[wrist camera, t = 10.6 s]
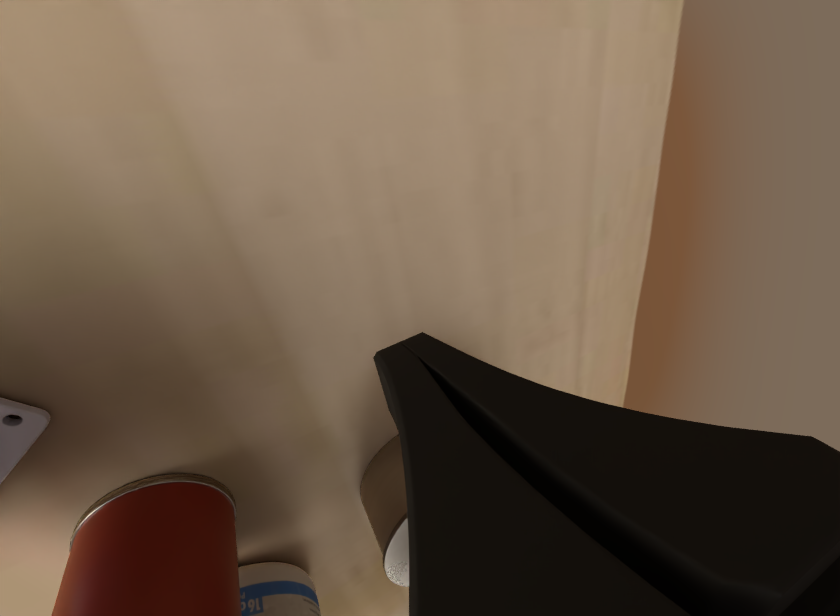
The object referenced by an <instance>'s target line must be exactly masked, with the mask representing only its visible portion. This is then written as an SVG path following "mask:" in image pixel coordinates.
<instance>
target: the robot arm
mask: <svg viewBox="0 0 840 616" xmlns="http://www.w3.org/2000/svg"><path fill="white" fill-rule="evenodd" d="M374 361H375V364H376V368H377V371H378V375H379V378H380V381H381V385H382V388H383V391H384V395H385V398H386V402H387V405H388V408H389V411H390V413H391V415H392V417H393V419H394V422H395V424H396V426H397V429H398V431H399V437H400V443H401V450H402V457H403V466H404V475H405V487H406V499H407V517H408V538H409V616H840V452H839V451H837V450H835V449H834V448H832V447H830V446H828V445H827V444H825V443H823V442H821V441H819V440H817V439H816V438H814V437H811V436H801V435H793V434H783V433H774V432H767V431H758V430H748V429H740V428H731V427H724V426H717V425H711V424H705V423H698V422H692V421H686V420H680V419H674V418H669V417H663V416H659V415H653V414H648V413H643V412H639V411H634V410H630V409H626V408H622V407H617V406H613V405H608V404H605V403H601V402H597V401H593V400H589V399H586V398H582V397H579V396H576V395H572V394H569V393H566V392H562V391H559V390H556V389H553V388H550V387H547V386H544V385H541V384H538V383H535V382H532V381H530V380H527V379H524V378H522V377H519V376H517V375H514V374H511V373H509V372H506V371H504V370H501V369H499V368H497V367H495V366H492V365H490V364H488V363H486V362H483V361H481V360H479V359H477V358H474V357H472V356H470V355H468V354H466V353H464V352H462V351H460V350H458V349H456V348H454V347H452V346H450V345H447V344H445V343H443V342H441V341H439V340H437V339H435V338H433V337H431V336H429V335H427V334H425V333H423V332H422V333H419V334H417V335H415V336H413V337H410V338H408V339H406V340H403V341H401V342H399V343H396V344H394V345H392V346H389V347H387V348H385V349H382V350H380V351H378V352H376V354H375V356H374ZM11 414H13V415H18V416H20V417H21V418H20V419H12V418H10V417H8V416H7V415H11ZM50 419H51V418H50V414H49V413H48V412H47V411H45V410H43V409H40V408H37V407H33V406H29V405H26V404H22V403H19V402H15V401H11V400H8V399H4V398H0V484H1V483H2V481H3V480H4V479H5V478H6V476H7V475H8V474H9V473H10V472H11V470H12V469H13V468H14V467H15V465H16V464H17V463H18V462H19V461H20V459H21V458H22V457H23V456H24V454H25V453H26V452H27V451H28V450H29V448H30V447H31V446H32V445H33V443H34V442H35V441H36V440H37V439H38V437H39V436H40V435H41V434H42V432H43V431H44V430H45V429H46V427H47V425H48V423H49V421H50Z"/></svg>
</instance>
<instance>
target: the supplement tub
mask: <svg viewBox="0 0 840 616" xmlns="http://www.w3.org/2000/svg"><path fill="white" fill-rule="evenodd" d="M238 572H239V586H240V600H241V614H242V616H321V613H320V608H319V603H318V599H317V595H316V590H315V586H314V584H313V581H312V579H311V578H310V576H309V575H308V574H307V573H306V572H305V571H304V570H302V569H301V568H299V567H297V566H294V565H292V564H287V563H280V562H265V563H257V564H251V565H246V566H242V567H239V568H238Z"/></svg>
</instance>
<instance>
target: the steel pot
mask: <svg viewBox="0 0 840 616" xmlns="http://www.w3.org/2000/svg"><path fill="white" fill-rule="evenodd" d="M360 494H361V500H362V503H363V506H364V509H365V511H366V514H367V516H368V519H369V521H370V524H371V527H372V529H373V532H374V534H375V537H376V539H377V542H378V545H379V547H380V550H381V552H382V555H383V567H384V570H385V573H386V575H387V577H388V578H389V579H390V580H391V581H392V582H393V583H395V584H397V585H400V586H404V587H409V538H408V517H407V499H406V487H405V475H404V466H403V457H402V450H401V443H400V437H399V435H398V436H396V437H395V438H393V439H392V440H391V441H390V442H389V443H387V444H386V445H385V446H384V447H383V448H382V449H381V450H380V451H379V453H378V454H377V455H376V456H375V457H374V459H373V460H372V462H371V463H370V464H369V466H368V468H367V470H366V472H365V474H364V477H363V480H362V484H361V492H360Z"/></svg>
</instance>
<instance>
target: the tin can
mask: <svg viewBox="0 0 840 616" xmlns="http://www.w3.org/2000/svg"><path fill="white" fill-rule="evenodd" d="M235 521H236V504H235V500H234V497H233V495H232V494H231V492H230V491H229V490H228V489H227V488H226V487H225V486H224V485H223V484H221V483H220V482H218V481H216V480H213V479H211V478H208V477H205V476H200V475H195V474H167V475H160V476H154V477H149V478H146V479H142V480H139V481H136V482H133V483H130V484H127V485H125V486H123V487H121V488H118V489H117V490H115V491H113V492H111V493H109V494H107V495H106V496H104V497H103V498H102V499H100V500H99V501H97V502H96V503H95V504H94V505H93V506H91V507H90V508H89V509H88V510H87V511H86V512H85V514H84V515H83V516H82V517H81V519H80V520H79V521H78V523H77V525H76V527H75V529H74V532H73V535H72V539H71V542H70V555H69V558H68V562H67V565H66V568H65V572H64V575H63V579H62V582H61V585H60V589H59V592H58V596H57V599H56V602H55V606H54V609H53V612H52V616H242V614H241V600H240V586H239V572H238V558H237V544H236V530H235Z"/></svg>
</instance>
